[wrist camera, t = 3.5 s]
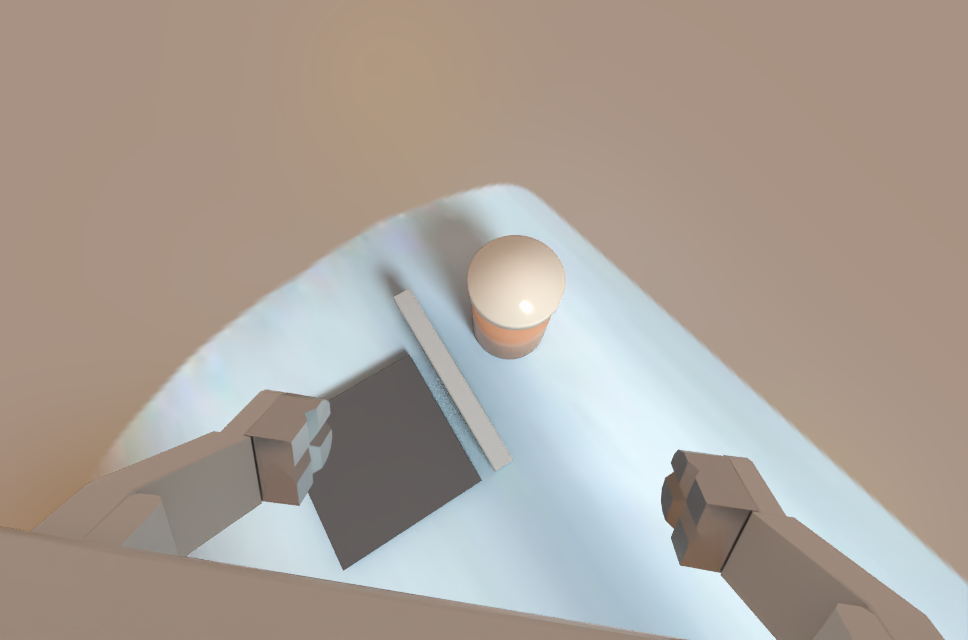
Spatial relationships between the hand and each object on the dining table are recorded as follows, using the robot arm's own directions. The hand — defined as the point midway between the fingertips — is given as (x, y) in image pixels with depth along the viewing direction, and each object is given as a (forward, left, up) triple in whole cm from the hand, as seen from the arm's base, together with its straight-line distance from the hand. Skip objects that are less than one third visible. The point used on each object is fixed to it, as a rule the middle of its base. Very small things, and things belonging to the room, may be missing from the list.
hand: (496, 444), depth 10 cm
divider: (+1, +7, -27) cm, 28 cm away
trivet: (-7, +5, -27) cm, 28 cm away
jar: (+8, +9, -27) cm, 30 cm away
